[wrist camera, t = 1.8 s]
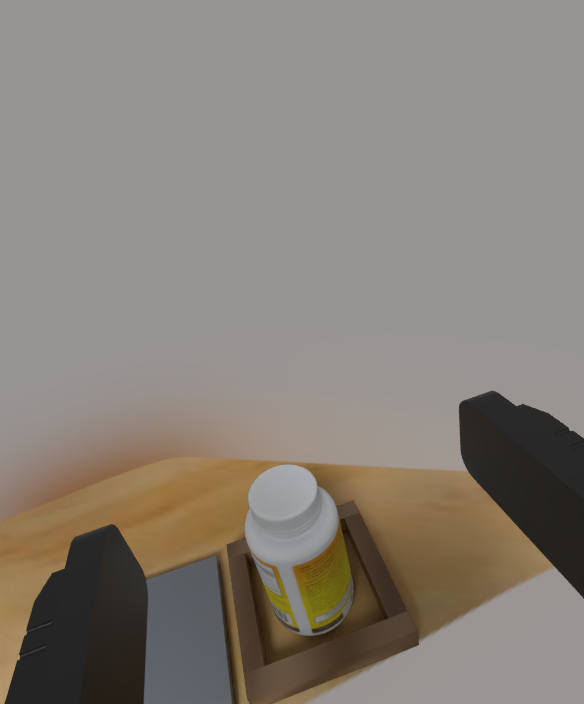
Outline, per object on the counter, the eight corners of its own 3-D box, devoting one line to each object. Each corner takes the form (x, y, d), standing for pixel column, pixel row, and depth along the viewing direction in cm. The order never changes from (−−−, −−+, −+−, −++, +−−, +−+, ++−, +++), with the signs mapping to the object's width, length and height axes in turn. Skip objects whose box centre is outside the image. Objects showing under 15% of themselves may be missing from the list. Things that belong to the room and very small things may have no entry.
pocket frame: (253, 710, 24) (247, 698, 23) (231, 557, 33) (226, 544, 32) (418, 645, 25) (417, 631, 25) (355, 513, 34) (353, 500, 33)
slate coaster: (52, 790, 23) (45, 785, 22) (84, 609, 32) (80, 602, 31) (236, 717, 24) (232, 711, 24) (219, 561, 33) (216, 555, 32)
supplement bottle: (360, 562, 30) (339, 455, 25) (348, 648, 26) (321, 538, 21) (284, 553, 32) (252, 451, 27) (262, 632, 28) (217, 527, 23)
